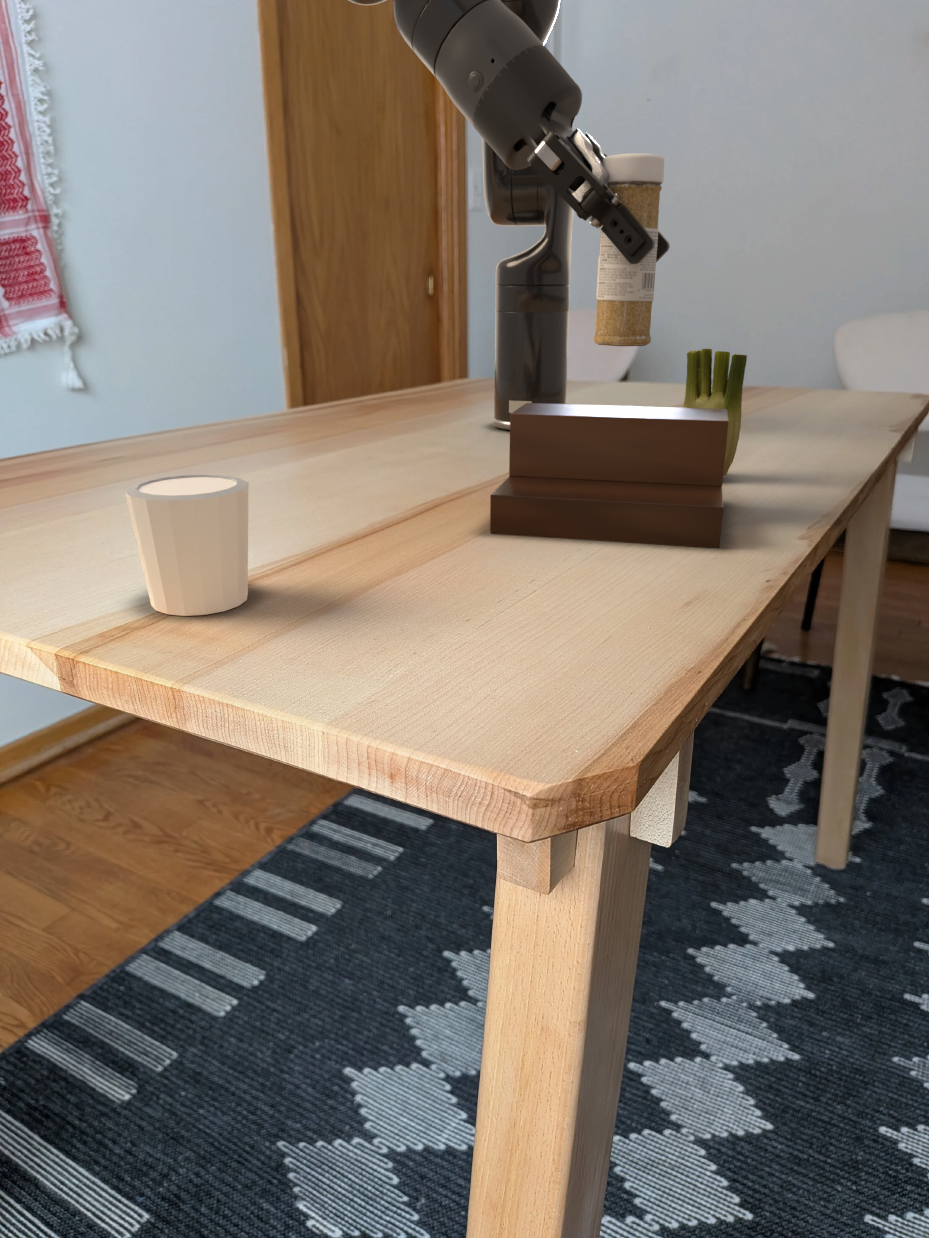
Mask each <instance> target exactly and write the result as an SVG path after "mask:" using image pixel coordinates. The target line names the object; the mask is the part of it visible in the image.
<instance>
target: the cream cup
mask: <svg viewBox="0 0 929 1238" xmlns="http://www.w3.org/2000/svg"><path fill="white" fill-rule="evenodd" d="M124 495H125V499H126V504H127V508H128V512H129V515H130V521H131V525H132V529H133V533H134V538H135V542H136V546H137V551H138V554H139V555H138V556H139V559H140V563H141V568H142V572H143V576H144V581H145V584H146V585H145V586H146V589H147V594H148V597H149V602H150V606H151V607H152V608H153V609H154V610H155V611H156V612H159V613H162V614H165V615H168V616H169V615H170V616H180V617H181V616H182V617H190V616H192V617H193V616H206V615H211V614H217V613H223V612H226V611H229V610H231V609H234V608H237V607H239V606H241V605H242V604H243V603H245V602H246V601H247V600H248V596H249V481H247V480H245V479H244V478H243V479H242V478H240V477H234V476H230V475H229V476H228V475H219V474H218V475H216V474H188V475H187V474H186V475H176V476H175V475H174V476H166V477H159V478H154V479H150V480H144V481H141V482H137V483H135V484H132V485H130V486H128V487H127V489H125V491H124Z"/></svg>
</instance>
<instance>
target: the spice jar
mask: <svg viewBox="0 0 929 1238" xmlns="http://www.w3.org/2000/svg"><path fill="white" fill-rule="evenodd" d="M602 164H603V165H604V167H605V168H606V169H607V171H608V172H609V185H610V186H611V187H612V189H613V190H614V191H615V193H618V194H619V195H620V197H621V198H620V199H621V200H622V202H623V203H622V204H621V205H620V206H619V209H620V208H621V206H622V205H624V206H626V208H627V209H628V210H629V211H630V212H631V213H632V215H633V216H634V217H635V218H636V219H637V220H638V222H639V223H640V224H641V225H642V226H643V228H644V229H645V230H646V231H647V232H648V233H649V235H650V236H651V237H652V238H653V239H654V241H655V246H654V248H653V249H652V250H651V251H650V253H649V254H648V255H647V256H646V257H645V258H644V259H643V260H642V261H641V262H640V263H638V264H631V263H629V262H628V260H627V259H626V258H625V257H624V256H623V255H622V253H621V252H620V251H619V250H618V249H617V247H616V246H615V245H614V244H613V243H612V242H611V240H610V239H609V238H608V237H607V236H606V235H605V233H604V232H603V231H602V230H601V228H602V227H603V225H602V226H601V227H600V236H599V237H600V238H599V239H600V240H599V252H598V259H597V275H596V277H597V280H596V297H595V298H596V313H595V316H596V317H595V331H594V332H595V334H594V336H593V342H594V343H595V344H596V345H598V346H608V347H609V346H611V347H645V346H647V345H650V343H651V342H652V338H651V323H652V309H653V302H654V298H655V297H654V295H655V283H656V269H657V262H656V257H657V244H658V231H659V216H660V215H659V214H660V213H659V212H660V200H661V197H660V196H661V191H662V188H663V187H662V184H663V183H664V176H665V158H664V157H663V156H662V155H660V154H654V153H642V152H641V153H638V152H635V153H634V152H632V153H631V152H630V153H619V154H611V155H607V157H605V158H604V159H603V162H602Z"/></svg>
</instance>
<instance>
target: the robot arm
mask: <svg viewBox="0 0 929 1238" xmlns="http://www.w3.org/2000/svg"><path fill="white" fill-rule="evenodd" d="M347 1H348V2H350V3H352V4H354V5H359V6H375V5H379V4H382V3H385V2H387V0H347ZM392 1H393V2H392V4H393V16H394V21H395V24H396V28H397V30H398V32H399V34H400V36H401V37H402V39H403V40H404V41H405V43H406V44H407V45H408V47H409V48H410V49H411V51H413V53H414V54H415V55H416V56H417V58H419V60H420V61H421V62H422V63H423V64H424V66H425V67H426V68H427V69H428V71H430V72H431V74H432V75H433V76H434V78H435V79H436V80H437V81H438V83H440V85H441V86H442V88H443V89H444V91H445V92H446V94H447V96H448V97H449V99H450V100H451V102H452V103H453V105H454V106H455V107H456V108H457V109H458V111H459V112H460V113H461V114H462V115H463V116H464V118H465V119H466V120H467V121H468V122H469V124H470V125H471V126H472V127H473V128H474V129H475V131H477V133H478V134H479V135H480V136H481V143H482V144H481V145H482V146H481V148H482V149H481V150H482V152H481V153H482V178H483V179H482V183H483V196H484V197H483V198H484V204H485V209H486V214H487V215H488V217H489V219H490V221H491V223H492V224H494V225H495V226H499V227H544V232H543V234H542V237H540V239H539V240H538V241H537V242H535V243H534V244H533V245H532V246H530V247H529V248H527V249H525V250H523V251H522V252H519V253H516V254H514V255H511V256H509V257H506V258H503V259H501V260H500V261H498V262H497V264H496V267H495V274H494V275H495V277H494V279H495V282H494V283H495V284H494V285H495V287H494V288H495V289H494V291H495V295H494V296H495V297H494V395H493V398H494V399H493V400H494V402H493V403H494V404H493V406H494V407H493V408H494V409H493V418H492V419H493V420H492V425H493V427H495V428H498V429H502V430H508V431H510V414H511V413H512V412H514V411H515V410H517V409H518V408H520V407H521V406H523V405H524V404H526V403H543V404H567V387H568V385H567V381H568V358H569V357H568V353H569V329H570V325H569V324H570V299H571V298H570V295H571V286H570V285H571V267H572V266H571V265H572V243H573V242H572V240H573V228H574V227H573V225H574V215H575V214H576V216H577V217H578V218H579V219H582V220H583V221H585V222H586V221H587V220H588V221H589V222H588V223H589V224H590V226H592V227H593V228H596V229H598V230H600V231H601V230H602V231H603V232H604V233H605V235H606V236H607V237H608V238H609V239H610V240H611V242H612V243H613V244H614V245H615V246H616V247H617V249H618V250H619V251H620V252H621V253H622V255H623V256H624V257H625V258H626V259H627V260H628V262H629V263H631V264H638V263H640V262H641V261H642V260H643V259H644V258H645V257H646V256H647V255H648V254H649V253H650V251H651V250H652V249H653V248H654V246H655V241H654V239H653V238H652V237H651V236H650V235H649V233H648V232H647V231H646V230H645V229H644V228H643V226H642V225H641V224H640V223H639V222H638V220H637V219H636V218H635V217H634V216H633V215H632V213H631V212H630V211H629V210H628V209H627V208H626V206H624V205H622V206H621V208H620V209H619V206H620V205H621V204H622V203H623V202H622V200H621V199H620V198H621V197H620V195H619V194H618V193H615V191H614V190H613V189H612V187H611V186H610V185H609V172H608V171H607V169H606V168H605V167H604V165H603V164H602V162H603V159H604V158H605V157H607V156H608V155H607V154H606V153H603V152H602V146H601V145H600V144H599V143H598V142H597V141H596V140H595V139H594V138H593V136H592V135H590V134H589V132H586V133H585V134H584V133H583V132H582V131H581V130H580V129H579V128H575V129H574V130H573V124H574V120H575V118H576V117H577V116H578V114H579V112H580V110H581V107H582V103H583V91H582V88H581V86H580V85H579V84H578V83H577V82H576V80H575V79H574V78H573V77H572V76H571V75H570V73H569V72H568V71H567V70H566V69H565V68H564V66H563V65H562V64H561V63H560V62H559V60H557V58H556V57H555V56H554V55H553V53H552V52H551V51H550V50H549V49H548V48H547V46H545V44H546V43H547V40H548V37H549V35H550V33H551V31H552V29H553V26H554V24H555V22H556V19H557V16H558V14H559V9H560V3H561V0H392ZM602 225H603V227H602V228H601V226H602ZM670 245H671V244H670V242H669V241H668V240H667V238H666V237H665V236H664V235H663V234H662V232H660V230H658V244H657V257H656V263H657V262H659V261H660V259H661V258H662V257H664V256H665V255H666V254H667V252H669V250H670Z"/></svg>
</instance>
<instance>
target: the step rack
mask: <svg viewBox="0 0 929 1238" xmlns="http://www.w3.org/2000/svg"><path fill="white" fill-rule="evenodd" d="M728 422H729V421H728V414H727V409H710V408H683V407H677V406H674V407H671V406H667V407H666V406H642V405H641V406H637V405H607V404H577V403H575V404H571V403H566V404H543V403H526V404H524V405H523V406H521V407H520V408H518V409H517V410H515V411H514V412H512V413H511V414H510V430H509V453H508V454H509V458H508V459H509V463H508V464H509V466H508V476H507V478H506V479H505V480H504V481H503V482H502V483H501V484H499V486H498V487H497V488H496V489H495V490H494V491H493V492H492V493H491V494H490V496H489V497H490V501H489V502H490V503H489V504H490V505H489V509H490V510H489V511H490V512H489V513H490V514H489V533H490V534H492V535H506V536H507V535H511V536H525V537H526V536H527V537H541V538H555V539H556V538H557V539H570V540H573V539H574V540H586V541H587V540H589V541H601V542H602V541H603V542H618V543H619V542H620V543H633V544H635V543H636V544H648V545H649V544H652V545H666V546H680V547H682V546H683V547H696V548H698V547H699V548H711V549H713V548H714V549H719V548H720V546H721V538H722V537H721V536H722V528H723V527H722V526H723V515H724V494H723V484H724V483H723V482H724V477H723V473H724V463H725V453H726V443H727V433H728Z"/></svg>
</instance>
